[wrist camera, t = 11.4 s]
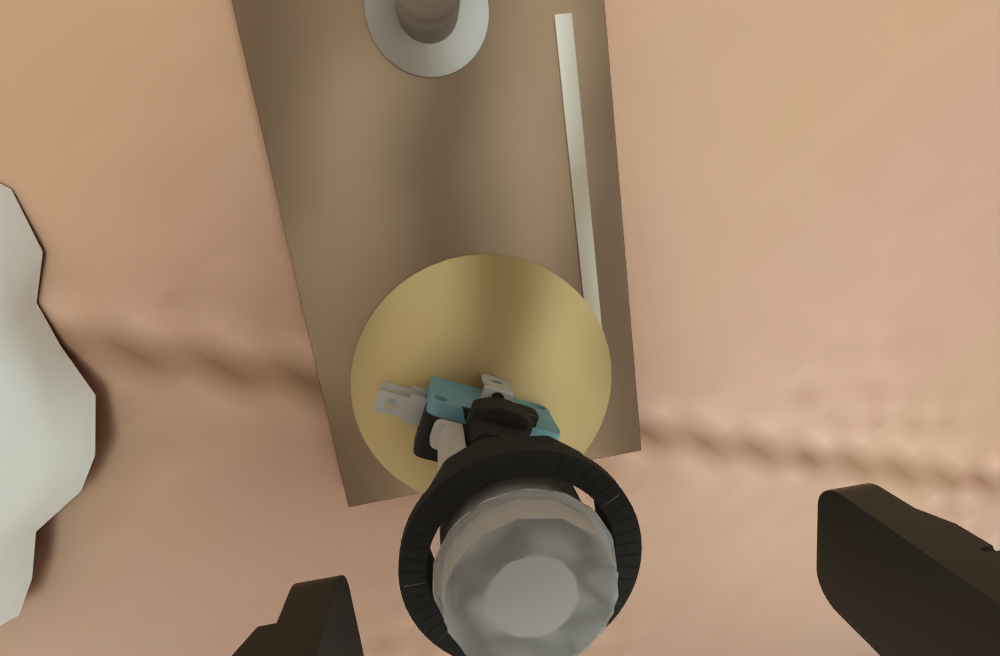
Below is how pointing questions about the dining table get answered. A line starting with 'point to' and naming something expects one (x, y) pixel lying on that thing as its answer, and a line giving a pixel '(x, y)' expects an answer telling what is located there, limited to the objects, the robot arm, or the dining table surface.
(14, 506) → the figurine
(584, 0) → the gauge board
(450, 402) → the push button
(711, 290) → the dining table surface
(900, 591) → the robot arm
